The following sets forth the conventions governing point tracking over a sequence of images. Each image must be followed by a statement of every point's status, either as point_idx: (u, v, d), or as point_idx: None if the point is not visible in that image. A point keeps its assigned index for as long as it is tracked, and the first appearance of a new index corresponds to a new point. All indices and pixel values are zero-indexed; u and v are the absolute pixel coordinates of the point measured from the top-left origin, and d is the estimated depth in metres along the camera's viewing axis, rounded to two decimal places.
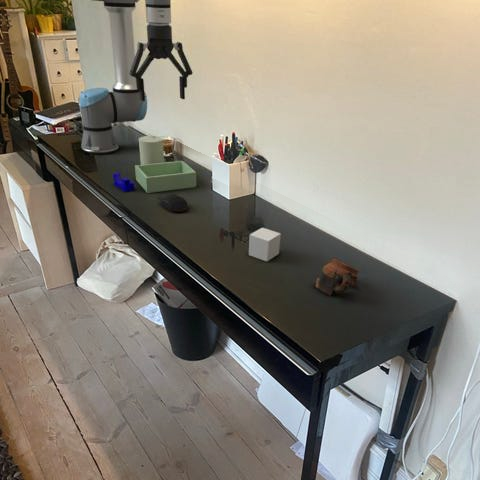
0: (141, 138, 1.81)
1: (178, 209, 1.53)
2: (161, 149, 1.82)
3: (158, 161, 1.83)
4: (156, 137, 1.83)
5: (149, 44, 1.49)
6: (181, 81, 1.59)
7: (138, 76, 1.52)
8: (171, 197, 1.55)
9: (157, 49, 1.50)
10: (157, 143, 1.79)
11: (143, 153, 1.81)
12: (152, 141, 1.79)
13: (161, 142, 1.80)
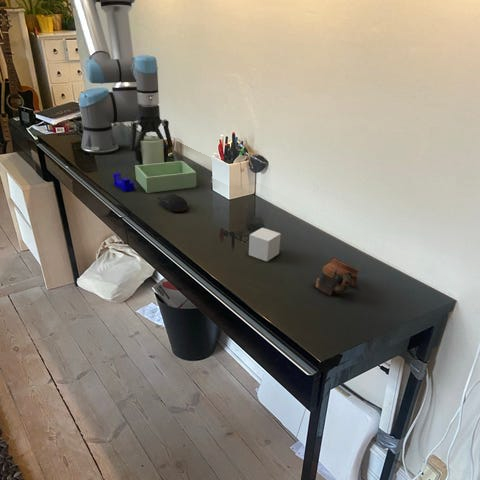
0: None
1: (178, 209, 1.53)
2: (161, 149, 1.82)
3: (158, 161, 1.83)
4: (156, 137, 1.83)
5: (140, 121, 1.75)
6: None
7: (137, 150, 1.80)
8: (171, 197, 1.55)
9: (147, 125, 1.76)
10: (157, 143, 1.79)
11: (143, 153, 1.81)
12: (152, 141, 1.79)
13: (161, 142, 1.80)
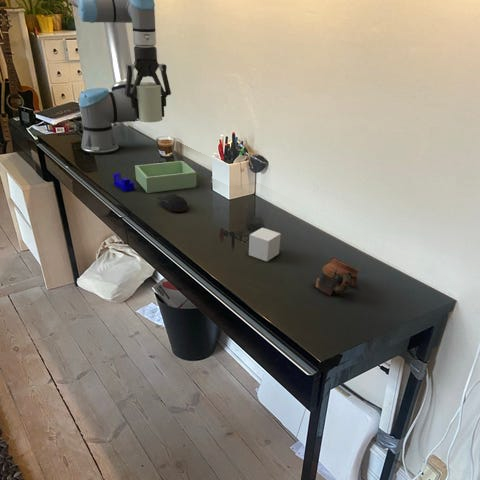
0: None
1: (178, 209, 1.53)
2: (158, 96, 1.71)
3: (155, 109, 1.72)
4: (153, 83, 1.72)
5: (136, 64, 1.65)
6: (161, 100, 1.75)
7: (132, 96, 1.69)
8: (171, 197, 1.55)
9: (143, 68, 1.65)
10: (154, 88, 1.68)
11: (139, 99, 1.70)
12: (149, 86, 1.68)
13: (158, 88, 1.70)
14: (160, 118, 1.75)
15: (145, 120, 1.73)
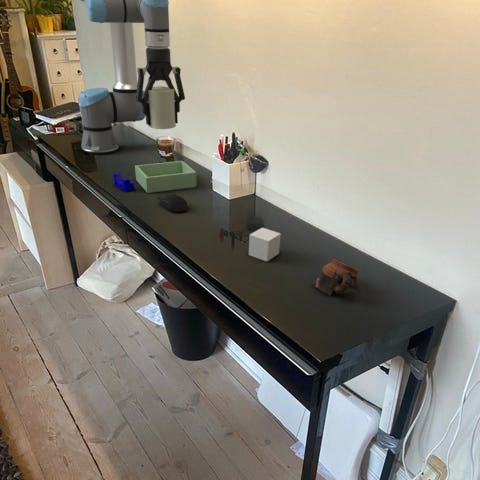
0: None
1: (178, 209, 1.53)
2: (172, 101, 1.59)
3: (168, 115, 1.60)
4: (166, 88, 1.61)
5: (148, 67, 1.53)
6: None
7: (144, 102, 1.58)
8: (171, 197, 1.55)
9: (156, 72, 1.54)
10: (167, 93, 1.56)
11: (151, 105, 1.58)
12: (162, 91, 1.56)
13: (172, 92, 1.58)
14: (173, 125, 1.63)
15: (157, 127, 1.61)
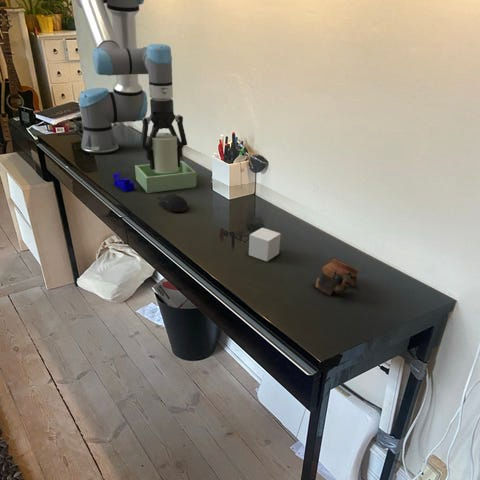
0: None
1: (178, 209, 1.53)
2: (175, 147, 1.67)
3: (171, 160, 1.68)
4: (169, 134, 1.68)
5: (152, 117, 1.60)
6: None
7: (148, 149, 1.65)
8: (171, 197, 1.55)
9: (160, 121, 1.61)
10: (170, 141, 1.64)
11: (155, 151, 1.66)
12: (165, 138, 1.64)
13: (175, 140, 1.65)
14: (176, 169, 1.71)
15: (161, 171, 1.69)
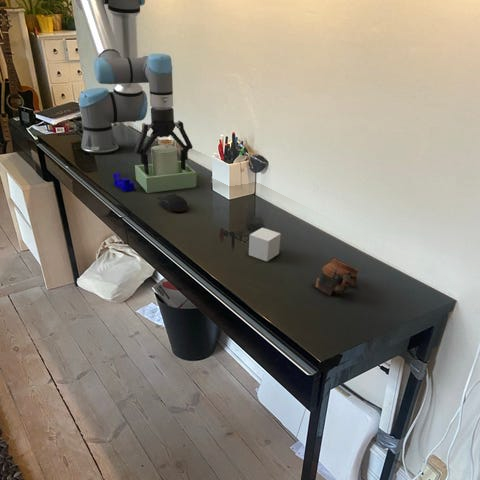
0: (153, 148, 1.69)
1: (178, 209, 1.53)
2: (175, 160, 1.69)
3: (172, 172, 1.70)
4: (169, 147, 1.71)
5: (153, 125, 1.62)
6: (182, 154, 1.72)
7: (142, 153, 1.65)
8: (171, 197, 1.55)
9: (160, 129, 1.63)
10: (171, 153, 1.66)
11: (155, 164, 1.68)
12: (166, 151, 1.66)
13: (175, 152, 1.68)
14: None
15: None
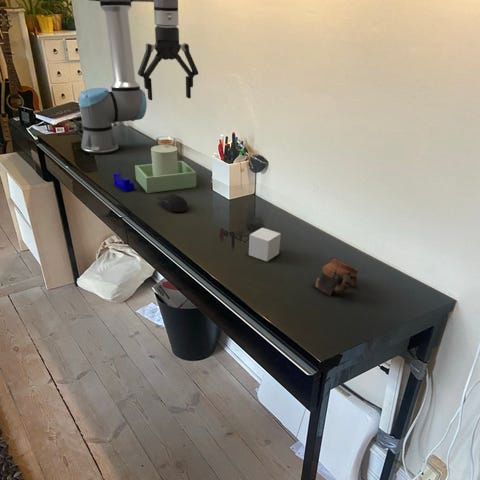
0: (153, 148, 1.69)
1: (178, 209, 1.53)
2: (175, 160, 1.69)
3: (172, 172, 1.70)
4: (169, 147, 1.71)
5: (157, 45, 1.55)
6: (187, 81, 1.65)
7: (146, 76, 1.58)
8: (171, 197, 1.55)
9: (164, 50, 1.56)
10: (171, 153, 1.66)
11: (155, 164, 1.68)
12: (166, 151, 1.66)
13: (175, 152, 1.68)
14: None
15: None
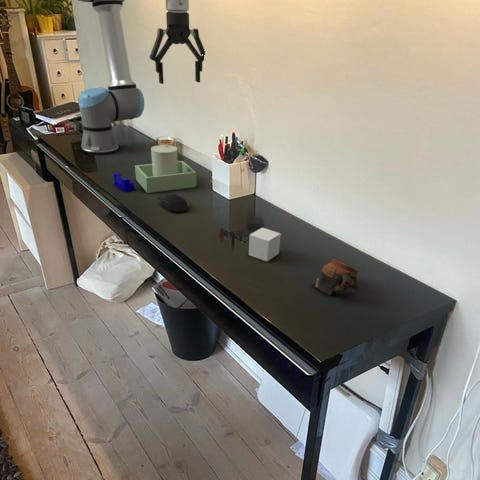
0: (154, 148, 1.69)
1: (178, 209, 1.53)
2: (175, 160, 1.69)
3: (172, 172, 1.70)
4: (169, 147, 1.71)
5: (168, 30, 1.61)
6: (197, 65, 1.71)
7: (158, 60, 1.64)
8: (171, 197, 1.55)
9: (175, 35, 1.62)
10: (171, 153, 1.66)
11: (155, 164, 1.68)
12: (166, 151, 1.66)
13: (175, 152, 1.68)
14: None
15: None
